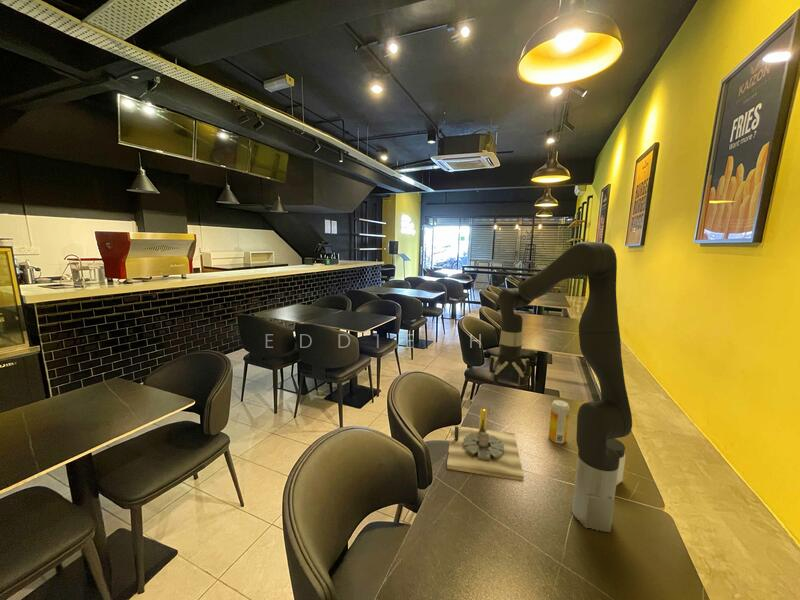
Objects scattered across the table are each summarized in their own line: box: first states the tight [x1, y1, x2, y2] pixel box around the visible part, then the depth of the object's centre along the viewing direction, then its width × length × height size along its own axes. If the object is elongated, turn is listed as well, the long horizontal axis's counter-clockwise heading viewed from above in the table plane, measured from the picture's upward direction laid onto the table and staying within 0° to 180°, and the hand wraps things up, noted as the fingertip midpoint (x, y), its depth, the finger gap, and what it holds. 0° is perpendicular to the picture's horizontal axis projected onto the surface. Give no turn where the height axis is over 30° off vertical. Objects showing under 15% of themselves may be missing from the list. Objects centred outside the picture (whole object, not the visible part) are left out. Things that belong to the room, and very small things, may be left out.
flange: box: [463, 407, 504, 460], centre depth 115 cm, size 18×14×9 cm
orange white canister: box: [548, 399, 571, 445], centre depth 120 cm, size 6×6×15 cm
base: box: [446, 425, 525, 482], centre depth 113 cm, size 24×24×6 cm
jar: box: [607, 438, 627, 486], centre depth 101 cm, size 9×8×12 cm
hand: (508, 384), depth 118 cm, fingers open, 8 cm apart
